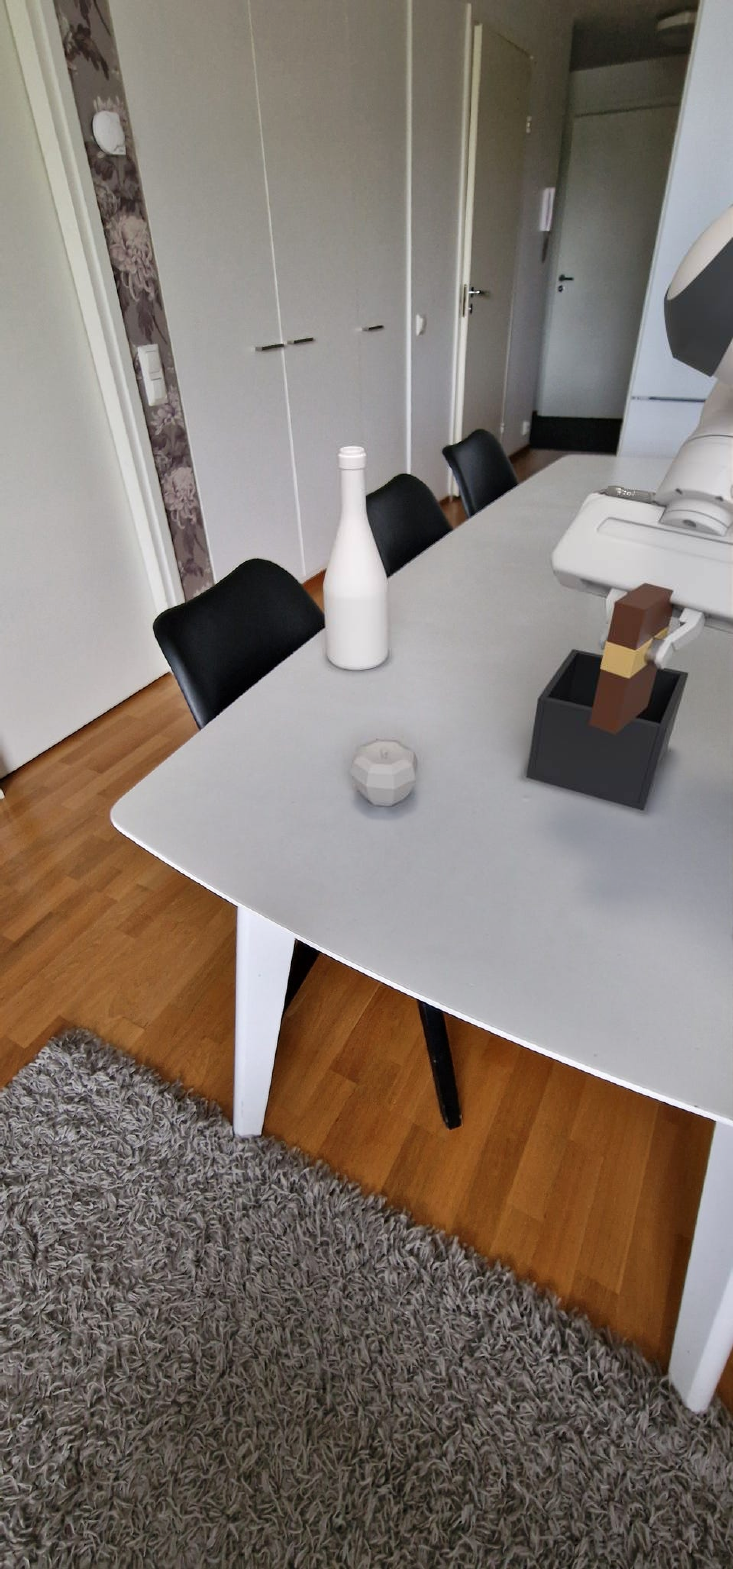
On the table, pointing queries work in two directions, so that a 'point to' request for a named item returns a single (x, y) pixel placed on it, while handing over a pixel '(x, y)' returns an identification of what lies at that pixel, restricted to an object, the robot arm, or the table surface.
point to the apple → (384, 771)
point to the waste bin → (601, 735)
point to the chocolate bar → (630, 656)
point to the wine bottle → (355, 578)
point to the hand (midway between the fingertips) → (630, 656)
